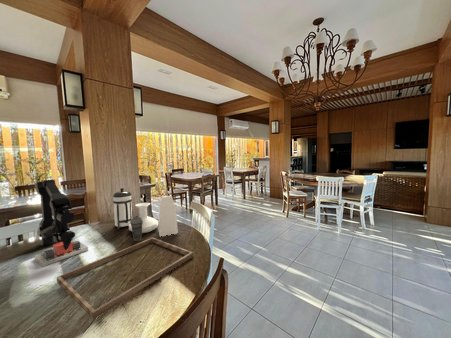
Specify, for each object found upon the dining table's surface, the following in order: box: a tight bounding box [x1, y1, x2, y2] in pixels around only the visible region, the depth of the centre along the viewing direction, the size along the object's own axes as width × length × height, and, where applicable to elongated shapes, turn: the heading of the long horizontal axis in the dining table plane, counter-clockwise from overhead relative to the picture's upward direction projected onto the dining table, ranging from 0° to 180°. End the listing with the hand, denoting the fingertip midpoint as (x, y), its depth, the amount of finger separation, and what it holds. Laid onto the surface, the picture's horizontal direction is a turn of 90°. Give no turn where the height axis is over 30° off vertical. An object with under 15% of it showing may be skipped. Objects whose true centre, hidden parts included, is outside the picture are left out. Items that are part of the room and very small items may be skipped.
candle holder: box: [128, 202, 159, 234], centre depth 142 cm, size 20×20×19 cm
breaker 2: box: [71, 240, 81, 249], centre depth 112 cm, size 3×3×3 cm
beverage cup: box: [131, 209, 143, 242], centre depth 126 cm, size 7×7×20 cm
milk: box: [157, 195, 179, 238], centre depth 138 cm, size 12×12×26 cm
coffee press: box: [112, 187, 133, 231], centre depth 149 cm, size 17×16×30 cm
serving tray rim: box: [56, 236, 194, 320], centre depth 94 cm, size 35×48×2 cm
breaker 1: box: [43, 248, 54, 258], centre depth 102 cm, size 3×3×3 cm
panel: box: [34, 242, 89, 268], centre depth 108 cm, size 13×20×2 cm, turn 146°
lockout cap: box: [52, 241, 73, 255], centre depth 107 cm, size 7×7×5 cm
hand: (63, 247), depth 107 cm, fingers open, 9 cm apart
